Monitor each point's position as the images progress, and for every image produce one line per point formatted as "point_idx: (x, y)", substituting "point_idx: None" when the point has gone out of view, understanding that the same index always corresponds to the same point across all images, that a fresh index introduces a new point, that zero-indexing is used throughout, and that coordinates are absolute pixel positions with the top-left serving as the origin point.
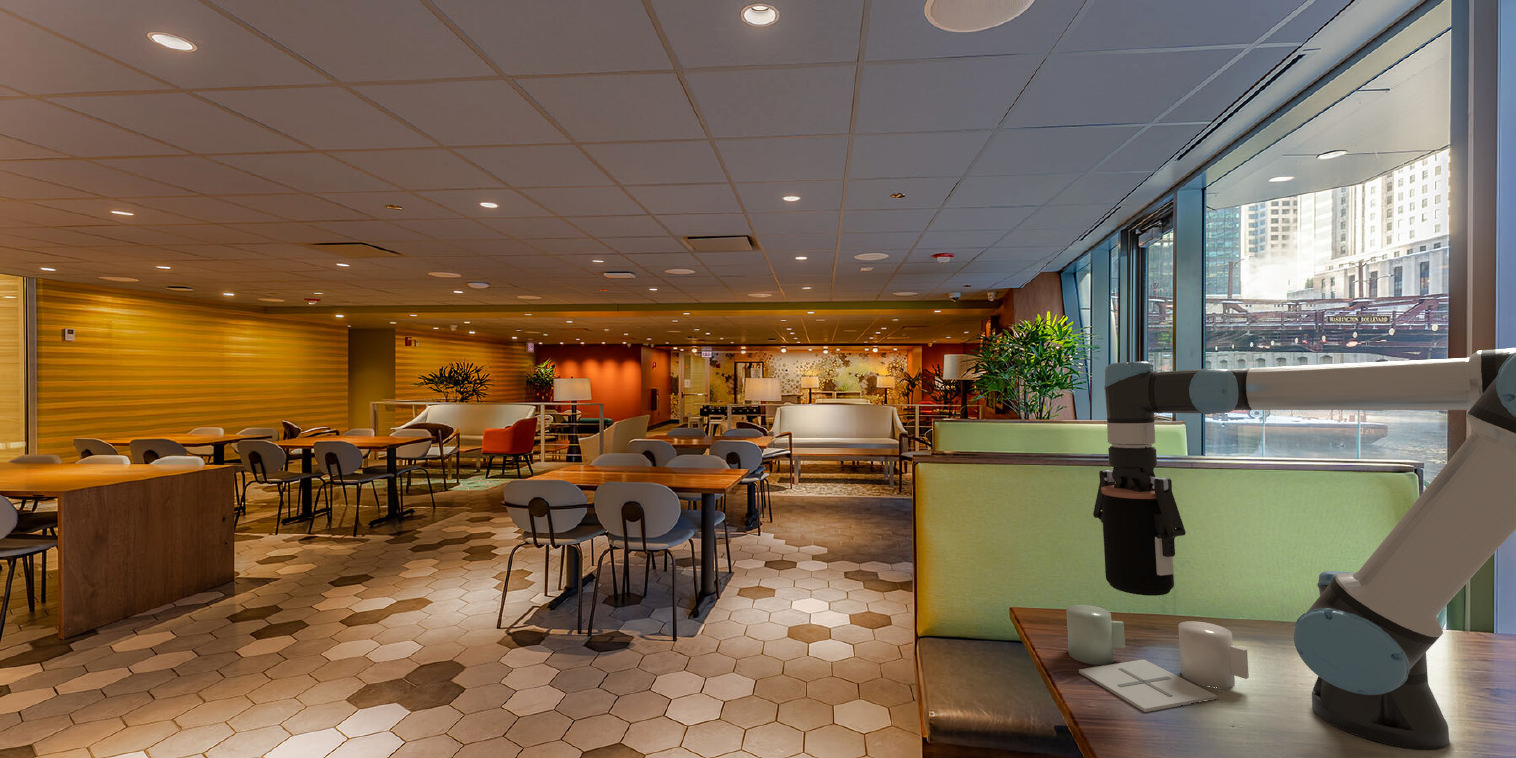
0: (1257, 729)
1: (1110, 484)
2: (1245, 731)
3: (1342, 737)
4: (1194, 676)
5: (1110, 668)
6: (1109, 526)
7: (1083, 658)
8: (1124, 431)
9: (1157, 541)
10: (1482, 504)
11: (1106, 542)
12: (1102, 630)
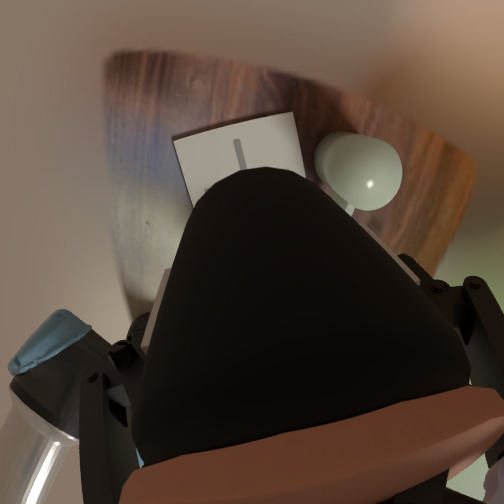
0: (142, 243)
1: (497, 445)
2: (137, 228)
3: (138, 303)
4: None
5: (291, 159)
6: (283, 235)
7: (325, 138)
8: None
9: (147, 335)
10: None
11: (299, 200)
12: (329, 173)
